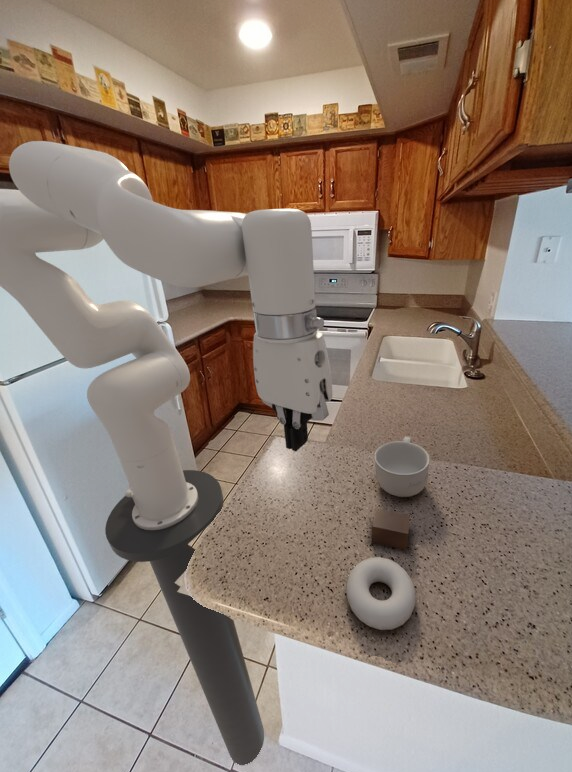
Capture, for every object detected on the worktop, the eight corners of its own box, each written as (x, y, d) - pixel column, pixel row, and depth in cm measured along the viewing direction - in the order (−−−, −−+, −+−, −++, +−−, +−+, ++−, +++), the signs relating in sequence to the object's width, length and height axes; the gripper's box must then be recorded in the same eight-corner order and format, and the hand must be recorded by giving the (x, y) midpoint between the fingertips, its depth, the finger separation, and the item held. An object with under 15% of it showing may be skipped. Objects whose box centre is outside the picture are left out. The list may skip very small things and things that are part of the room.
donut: (420, 581, 51) (359, 556, 54) (423, 567, 49) (360, 542, 53) (405, 650, 42) (335, 615, 46) (407, 635, 41) (335, 600, 45)
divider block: (371, 542, 57) (372, 526, 55) (375, 524, 60) (375, 508, 59) (406, 550, 55) (408, 533, 54) (408, 531, 59) (409, 515, 57)
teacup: (415, 513, 62) (419, 481, 59) (364, 492, 68) (365, 461, 64) (436, 471, 73) (441, 441, 69) (391, 455, 78) (392, 427, 75)
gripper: (354, 322, 39) (354, 446, 47) (260, 311, 47) (274, 420, 55) (320, 339, 34) (327, 477, 42) (220, 324, 41) (242, 443, 49)
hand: (297, 444), depth 48 cm, fingers closed
